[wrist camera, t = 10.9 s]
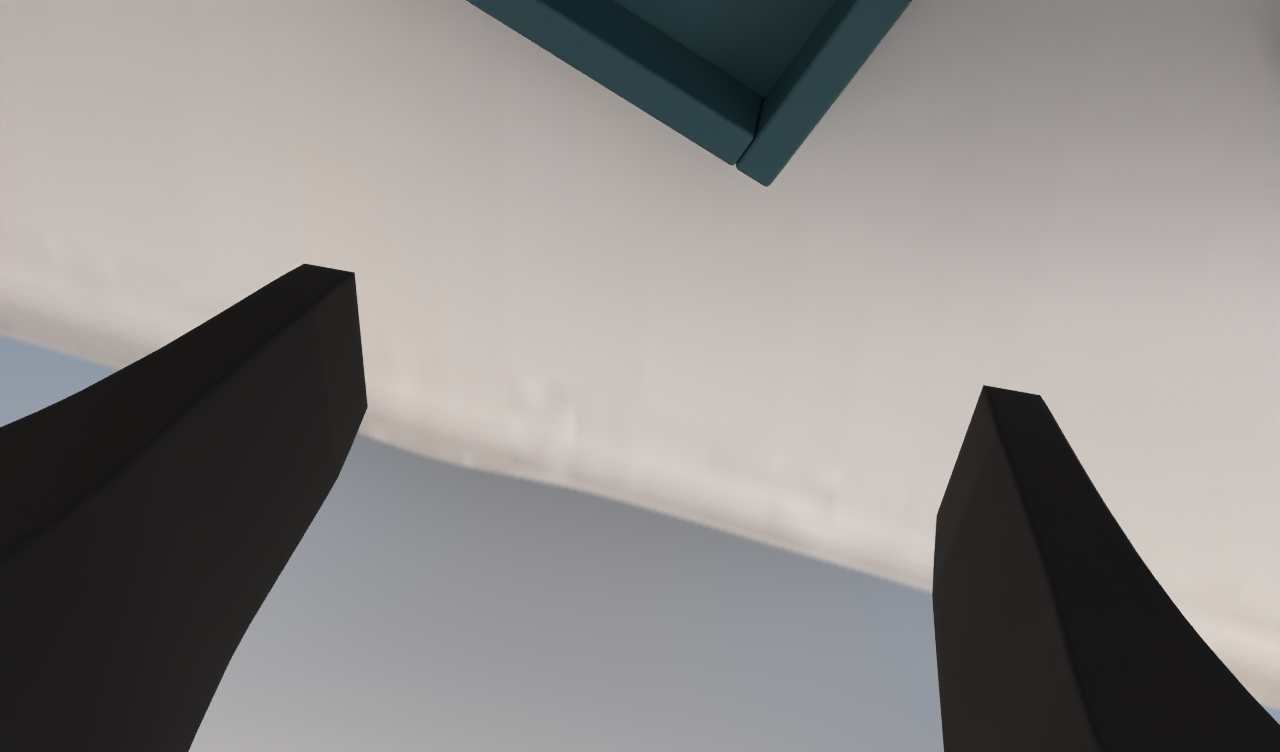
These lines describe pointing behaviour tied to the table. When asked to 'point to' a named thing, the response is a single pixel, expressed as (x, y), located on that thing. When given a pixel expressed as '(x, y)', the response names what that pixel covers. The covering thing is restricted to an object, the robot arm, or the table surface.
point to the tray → (715, 62)
